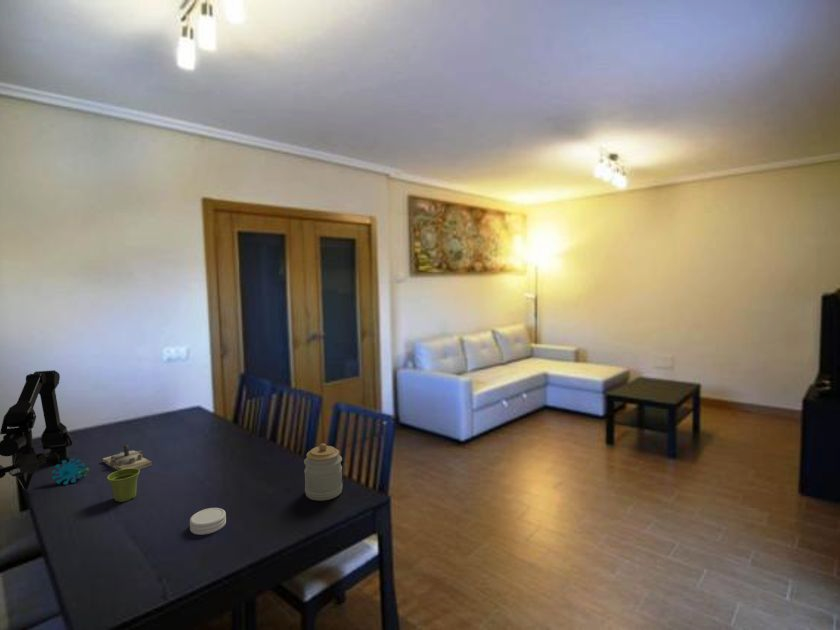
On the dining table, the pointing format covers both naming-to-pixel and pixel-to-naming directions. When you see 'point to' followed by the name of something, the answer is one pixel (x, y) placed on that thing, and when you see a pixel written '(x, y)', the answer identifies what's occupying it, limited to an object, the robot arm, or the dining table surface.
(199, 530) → the white round flat block
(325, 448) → the jar
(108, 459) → the gear board
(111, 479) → the plant pot
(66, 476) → the gear
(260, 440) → the dining table surface
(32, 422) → the robot arm
